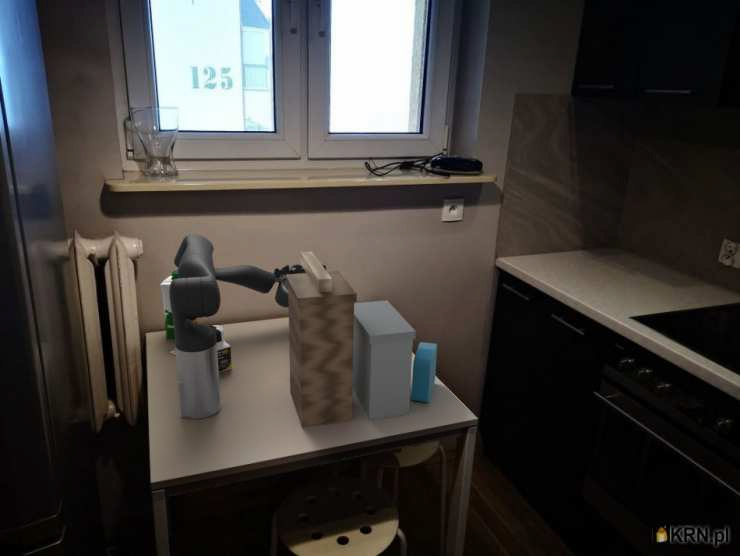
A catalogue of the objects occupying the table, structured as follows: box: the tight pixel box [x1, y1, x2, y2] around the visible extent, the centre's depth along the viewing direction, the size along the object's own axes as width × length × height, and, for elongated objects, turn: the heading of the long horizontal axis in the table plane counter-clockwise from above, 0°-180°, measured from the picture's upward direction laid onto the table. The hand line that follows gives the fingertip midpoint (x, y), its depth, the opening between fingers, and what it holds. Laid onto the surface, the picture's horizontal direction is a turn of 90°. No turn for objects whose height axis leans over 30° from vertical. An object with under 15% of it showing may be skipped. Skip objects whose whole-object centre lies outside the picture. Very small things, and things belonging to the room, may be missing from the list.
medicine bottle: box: [207, 324, 233, 373], centre depth 154 cm, size 7×7×12 cm
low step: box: [352, 300, 417, 421], centre depth 140 cm, size 11×20×22 cm, turn 17°
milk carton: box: [159, 269, 178, 340], centre depth 173 cm, size 9×9×20 cm
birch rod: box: [299, 251, 332, 292], centre depth 133 cm, size 3×22×3 cm, turn 17°
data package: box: [410, 341, 438, 404], centre depth 145 cm, size 12×4×12 cm, turn 166°
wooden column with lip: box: [286, 270, 358, 428], centre depth 133 cm, size 13×16×32 cm
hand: (303, 267), depth 149 cm, fingers open, 8 cm apart
